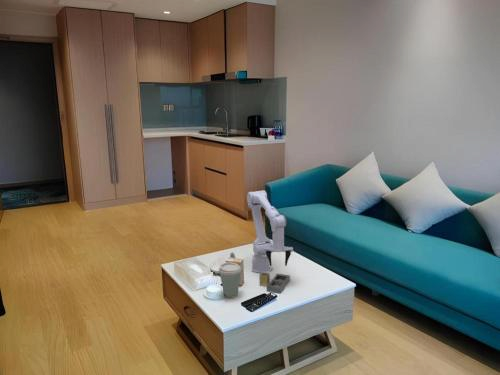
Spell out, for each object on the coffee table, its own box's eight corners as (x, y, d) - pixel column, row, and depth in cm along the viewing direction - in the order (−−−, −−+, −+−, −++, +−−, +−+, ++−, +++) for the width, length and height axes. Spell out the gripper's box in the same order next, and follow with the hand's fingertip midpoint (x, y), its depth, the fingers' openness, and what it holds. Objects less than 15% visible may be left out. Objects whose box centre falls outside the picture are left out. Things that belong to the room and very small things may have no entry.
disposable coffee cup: (244, 290, 189) (243, 262, 186) (238, 301, 179) (237, 271, 176) (223, 288, 191) (222, 260, 188) (216, 299, 181) (215, 269, 178)
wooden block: (259, 285, 194) (259, 274, 193) (262, 282, 198) (262, 271, 197) (267, 286, 193) (266, 275, 191) (269, 283, 196) (269, 272, 195)
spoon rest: (227, 277, 204) (226, 265, 203) (206, 275, 208) (206, 262, 206) (241, 261, 226) (240, 249, 225) (222, 259, 230) (222, 247, 228)
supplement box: (244, 282, 198) (244, 258, 195) (241, 286, 193) (240, 262, 191) (229, 280, 200) (228, 256, 198) (226, 284, 196) (225, 260, 193)
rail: (266, 291, 188) (266, 286, 187) (277, 277, 202) (277, 273, 202) (280, 293, 185) (280, 288, 185) (289, 279, 200) (289, 275, 199)
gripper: (263, 242, 189) (264, 268, 191) (293, 242, 188) (293, 268, 191) (263, 237, 195) (263, 262, 198) (292, 237, 195) (292, 262, 198)
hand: (278, 265), depth 195 cm, fingers open, 7 cm apart
